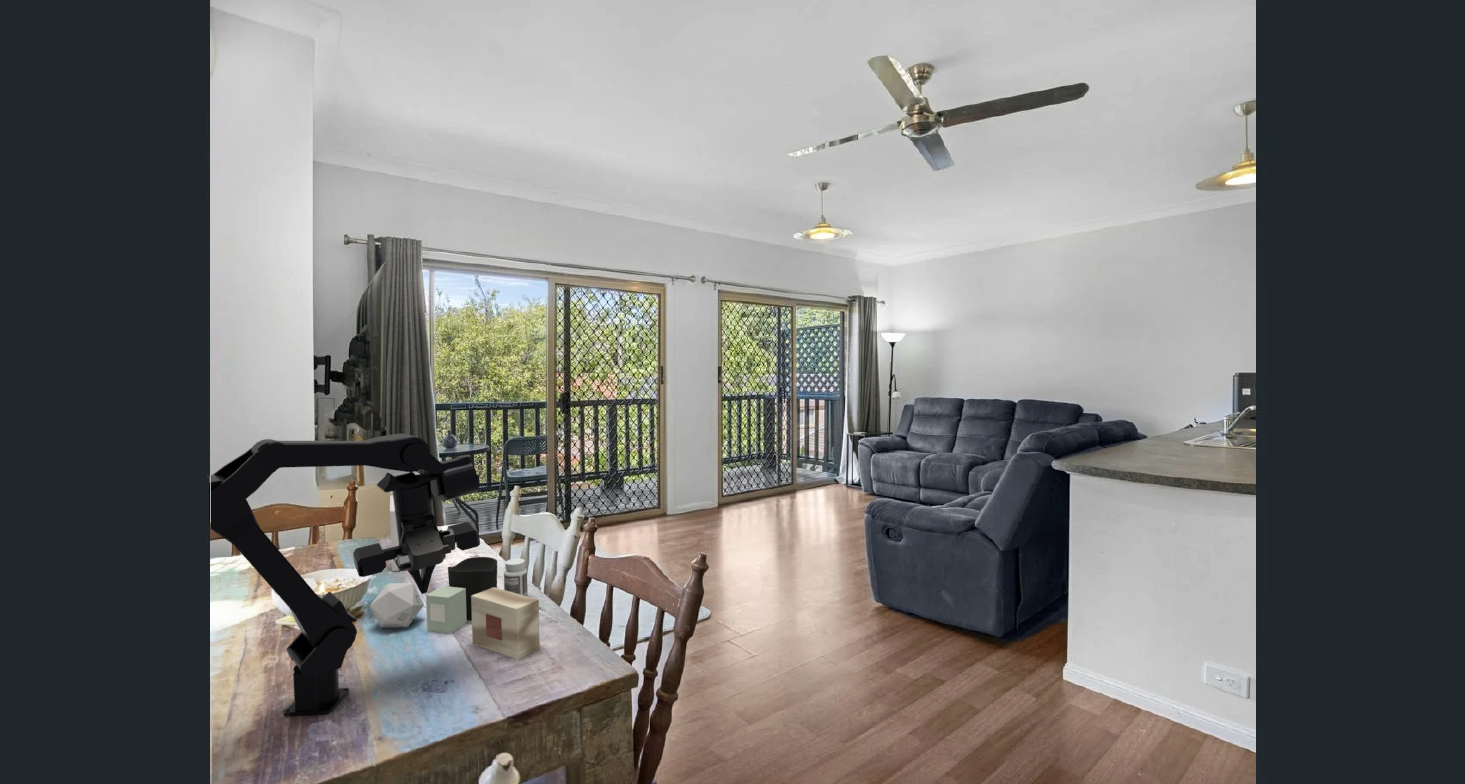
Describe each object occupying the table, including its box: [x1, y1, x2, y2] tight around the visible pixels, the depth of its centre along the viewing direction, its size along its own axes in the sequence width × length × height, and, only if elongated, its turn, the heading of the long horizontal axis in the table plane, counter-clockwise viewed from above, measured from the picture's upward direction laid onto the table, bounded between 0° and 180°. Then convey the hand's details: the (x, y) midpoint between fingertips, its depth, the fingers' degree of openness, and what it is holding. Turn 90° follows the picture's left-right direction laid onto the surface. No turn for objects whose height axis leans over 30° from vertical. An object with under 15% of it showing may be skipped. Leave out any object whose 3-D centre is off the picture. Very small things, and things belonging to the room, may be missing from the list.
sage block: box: [425, 585, 468, 634], centre depth 127 cm, size 5×5×7 cm
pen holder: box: [447, 556, 498, 621], centre depth 134 cm, size 9×9×10 cm
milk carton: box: [389, 491, 400, 572], centre depth 163 cm, size 7×7×19 cm
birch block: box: [471, 587, 541, 660], centre depth 119 cm, size 5×12×9 cm, turn 59°
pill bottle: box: [503, 557, 529, 597], centre depth 141 cm, size 5×5×8 cm
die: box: [369, 582, 425, 629], centre depth 128 cm, size 8×9×10 cm
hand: (423, 592), depth 113 cm, fingers closed
